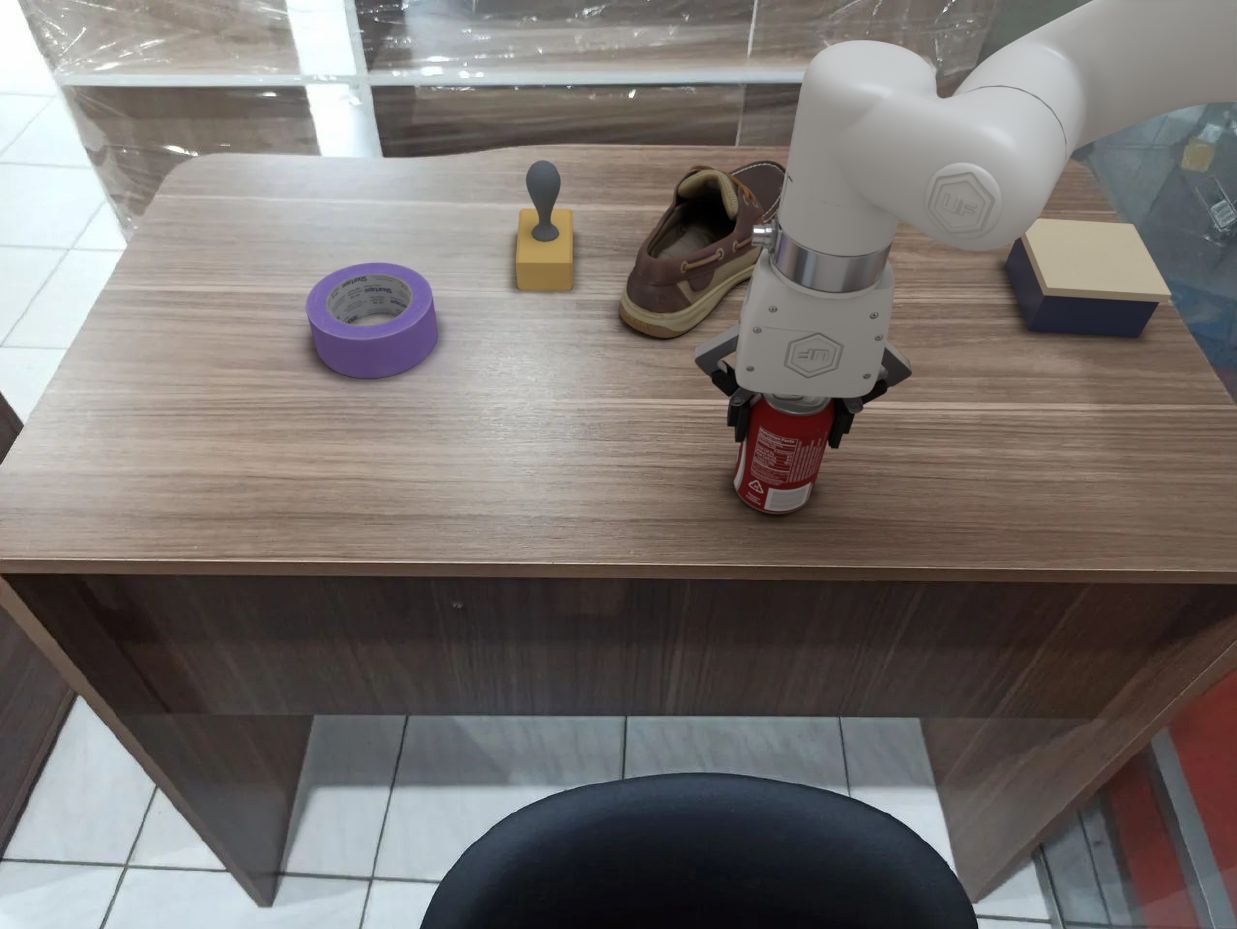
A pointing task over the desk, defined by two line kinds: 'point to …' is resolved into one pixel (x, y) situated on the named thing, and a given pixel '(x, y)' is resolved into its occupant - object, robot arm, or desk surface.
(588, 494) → the desk surface
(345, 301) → the tape roll
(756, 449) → the soda can
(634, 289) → the boat shoe
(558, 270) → the rubber stamp
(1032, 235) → the navy box with lid
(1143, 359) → the desk surface
